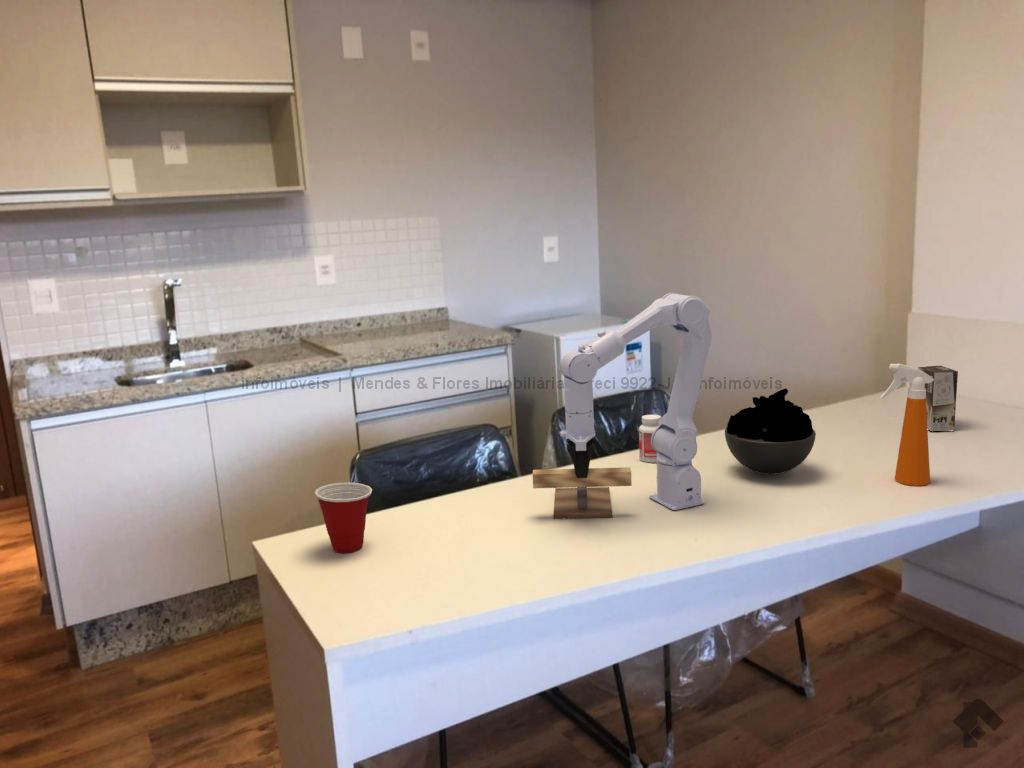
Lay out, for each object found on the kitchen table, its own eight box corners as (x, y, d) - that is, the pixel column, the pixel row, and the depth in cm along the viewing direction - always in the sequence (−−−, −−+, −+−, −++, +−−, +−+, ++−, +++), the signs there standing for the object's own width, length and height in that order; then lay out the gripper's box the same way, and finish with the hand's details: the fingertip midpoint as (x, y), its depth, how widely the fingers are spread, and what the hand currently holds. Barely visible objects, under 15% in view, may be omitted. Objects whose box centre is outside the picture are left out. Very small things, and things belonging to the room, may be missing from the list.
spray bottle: (873, 475, 185) (878, 360, 180) (925, 476, 183) (931, 360, 178) (880, 485, 178) (885, 367, 173) (934, 486, 176) (941, 366, 171)
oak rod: (630, 481, 170) (630, 467, 169) (631, 485, 167) (631, 471, 166) (533, 483, 171) (533, 469, 170) (533, 488, 168) (532, 474, 168)
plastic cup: (380, 553, 157) (375, 493, 154) (322, 562, 154) (316, 502, 151) (373, 533, 167) (368, 476, 164) (319, 541, 164) (313, 484, 161)
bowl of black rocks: (758, 491, 179) (759, 407, 175) (708, 466, 197) (707, 390, 193) (833, 478, 185) (836, 396, 181) (778, 455, 203) (779, 380, 200)
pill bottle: (669, 459, 204) (669, 416, 202) (651, 464, 201) (650, 421, 199) (652, 454, 209) (651, 412, 207) (634, 459, 206) (633, 416, 204)
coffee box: (955, 431, 215) (959, 371, 212) (930, 432, 215) (934, 372, 212) (938, 422, 224) (941, 364, 221) (914, 423, 224) (917, 365, 221)
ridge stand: (612, 517, 168) (611, 494, 167) (553, 518, 169) (552, 495, 168) (609, 491, 184) (608, 469, 183) (555, 492, 185) (554, 471, 184)
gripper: (559, 402, 173) (562, 464, 176) (559, 420, 159) (562, 487, 162) (593, 401, 173) (595, 463, 175) (595, 418, 158) (598, 485, 161)
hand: (581, 474), depth 169 cm, fingers closed on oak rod, 3 cm apart
